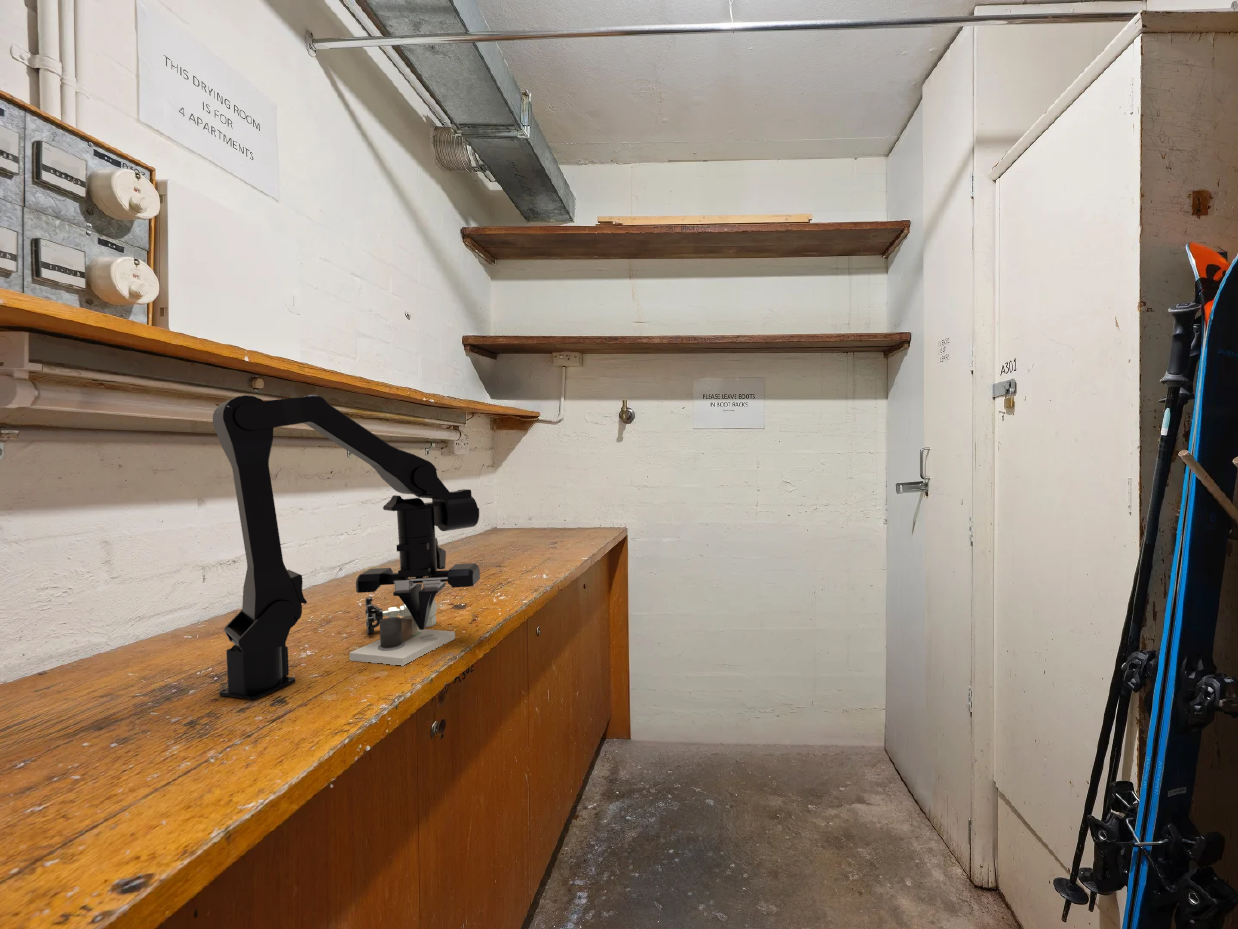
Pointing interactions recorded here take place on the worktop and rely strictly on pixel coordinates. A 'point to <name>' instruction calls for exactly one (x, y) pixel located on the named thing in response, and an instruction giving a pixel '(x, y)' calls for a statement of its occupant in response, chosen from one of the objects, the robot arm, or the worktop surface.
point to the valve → (392, 614)
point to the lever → (396, 630)
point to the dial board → (403, 648)
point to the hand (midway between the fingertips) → (422, 629)
